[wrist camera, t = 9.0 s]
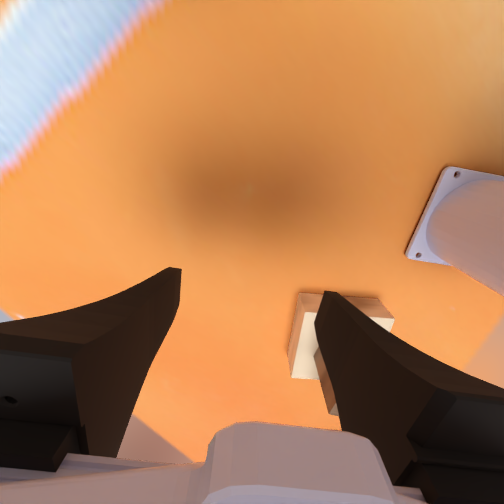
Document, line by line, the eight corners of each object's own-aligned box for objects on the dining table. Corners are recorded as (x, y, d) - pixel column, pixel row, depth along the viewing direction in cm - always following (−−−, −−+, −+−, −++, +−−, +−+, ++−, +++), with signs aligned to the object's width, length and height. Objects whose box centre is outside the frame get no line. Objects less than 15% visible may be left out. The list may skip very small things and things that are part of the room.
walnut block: (363, 337, 22) (394, 392, 17) (347, 364, 24) (371, 423, 19) (327, 328, 22) (348, 382, 17) (313, 356, 23) (328, 413, 18)
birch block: (376, 296, 25) (394, 318, 22) (356, 355, 28) (369, 383, 25) (298, 290, 25) (305, 311, 21) (286, 351, 28) (291, 377, 25)
